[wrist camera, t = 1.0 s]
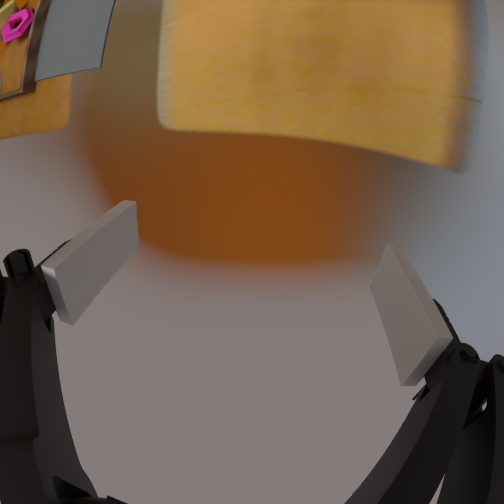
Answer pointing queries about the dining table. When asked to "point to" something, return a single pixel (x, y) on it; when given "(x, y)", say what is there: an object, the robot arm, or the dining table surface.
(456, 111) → the dining table surface
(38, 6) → the brown wooden frame
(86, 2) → the mat
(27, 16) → the toy
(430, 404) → the robot arm
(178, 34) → the dining table surface
